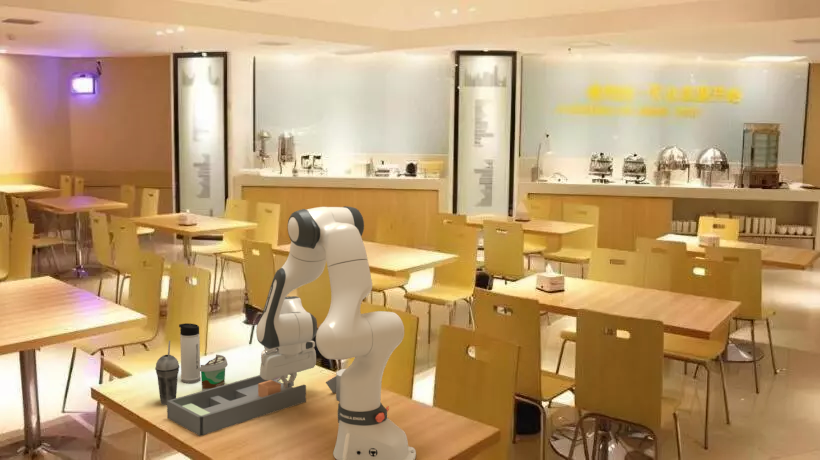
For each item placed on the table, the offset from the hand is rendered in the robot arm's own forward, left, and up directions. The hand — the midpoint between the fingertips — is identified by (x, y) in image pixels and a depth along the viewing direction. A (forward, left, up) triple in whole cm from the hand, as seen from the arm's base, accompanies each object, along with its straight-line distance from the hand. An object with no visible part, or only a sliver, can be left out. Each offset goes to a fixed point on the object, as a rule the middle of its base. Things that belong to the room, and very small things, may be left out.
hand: (288, 386), depth 247 cm
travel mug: (+39, -4, -4) cm, 39 cm away
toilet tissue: (-17, -8, -4) cm, 19 cm away
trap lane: (+10, +14, -4) cm, 18 cm away
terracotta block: (+3, +7, -1) cm, 8 cm away
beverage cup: (+34, +16, -4) cm, 38 cm away
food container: (+26, 0, -4) cm, 26 cm away
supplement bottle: (+14, -15, -4) cm, 21 cm away
